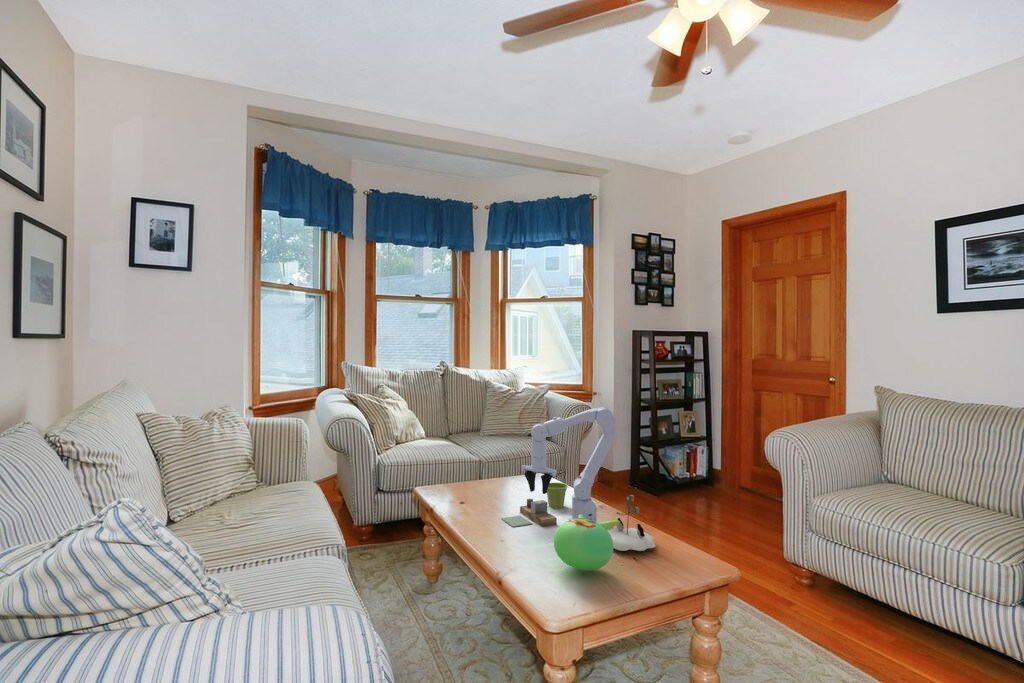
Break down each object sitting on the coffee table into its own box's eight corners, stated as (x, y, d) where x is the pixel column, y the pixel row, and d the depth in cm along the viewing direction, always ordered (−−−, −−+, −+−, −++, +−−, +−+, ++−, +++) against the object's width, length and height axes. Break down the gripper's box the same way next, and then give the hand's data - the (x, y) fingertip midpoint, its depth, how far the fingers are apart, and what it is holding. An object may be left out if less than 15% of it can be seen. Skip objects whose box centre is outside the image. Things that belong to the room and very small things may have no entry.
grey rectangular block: (547, 512, 202) (547, 502, 202) (535, 514, 199) (535, 504, 199) (542, 510, 204) (542, 499, 204) (530, 512, 202) (530, 501, 202)
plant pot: (568, 510, 213) (568, 488, 213) (545, 510, 213) (545, 488, 213) (566, 503, 222) (566, 482, 222) (544, 503, 222) (544, 482, 222)
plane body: (556, 524, 196) (556, 509, 196) (542, 526, 193) (542, 511, 193) (533, 510, 212) (533, 496, 212) (520, 512, 209) (520, 498, 209)
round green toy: (543, 565, 159) (543, 516, 159) (578, 550, 171) (578, 504, 171) (591, 585, 146) (591, 531, 146) (626, 567, 158) (626, 517, 158)
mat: (532, 524, 196) (532, 523, 196) (512, 527, 192) (512, 526, 192) (520, 516, 205) (520, 515, 205) (501, 519, 201) (501, 518, 201)
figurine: (587, 536, 185) (587, 489, 185) (632, 530, 191) (632, 484, 191) (619, 557, 166) (619, 505, 166) (667, 549, 172) (667, 499, 173)
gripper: (560, 456, 201) (560, 492, 201) (528, 452, 209) (527, 487, 209) (551, 460, 195) (551, 497, 195) (518, 455, 203) (518, 491, 203)
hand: (538, 492), depth 202 cm, fingers open, 5 cm apart
